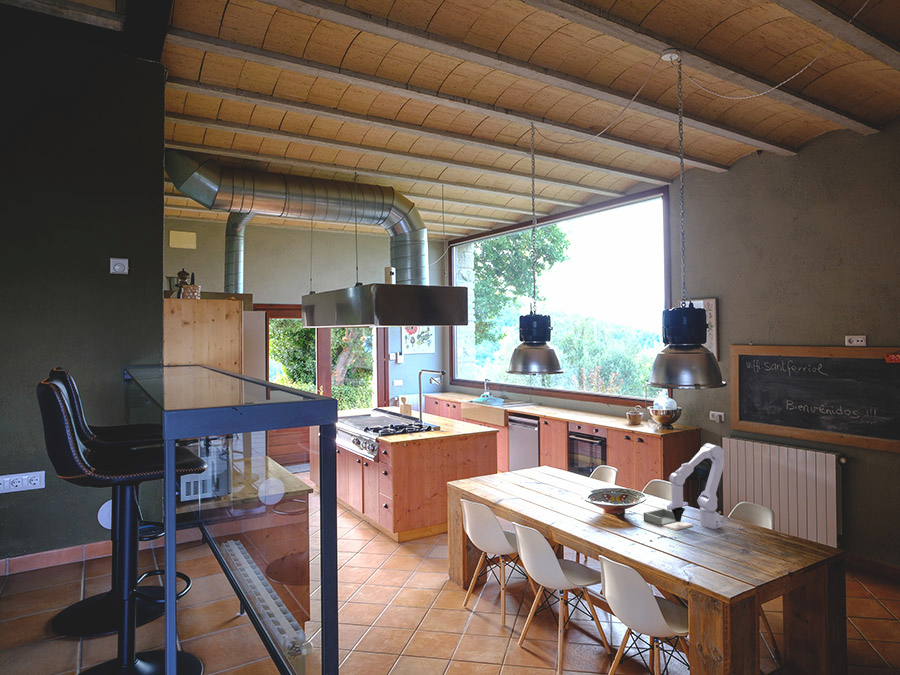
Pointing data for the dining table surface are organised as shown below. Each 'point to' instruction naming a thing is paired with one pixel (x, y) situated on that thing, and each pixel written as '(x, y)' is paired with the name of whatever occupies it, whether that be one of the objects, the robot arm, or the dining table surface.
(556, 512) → the dining table surface
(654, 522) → the cart bed
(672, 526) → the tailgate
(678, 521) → the robot arm
